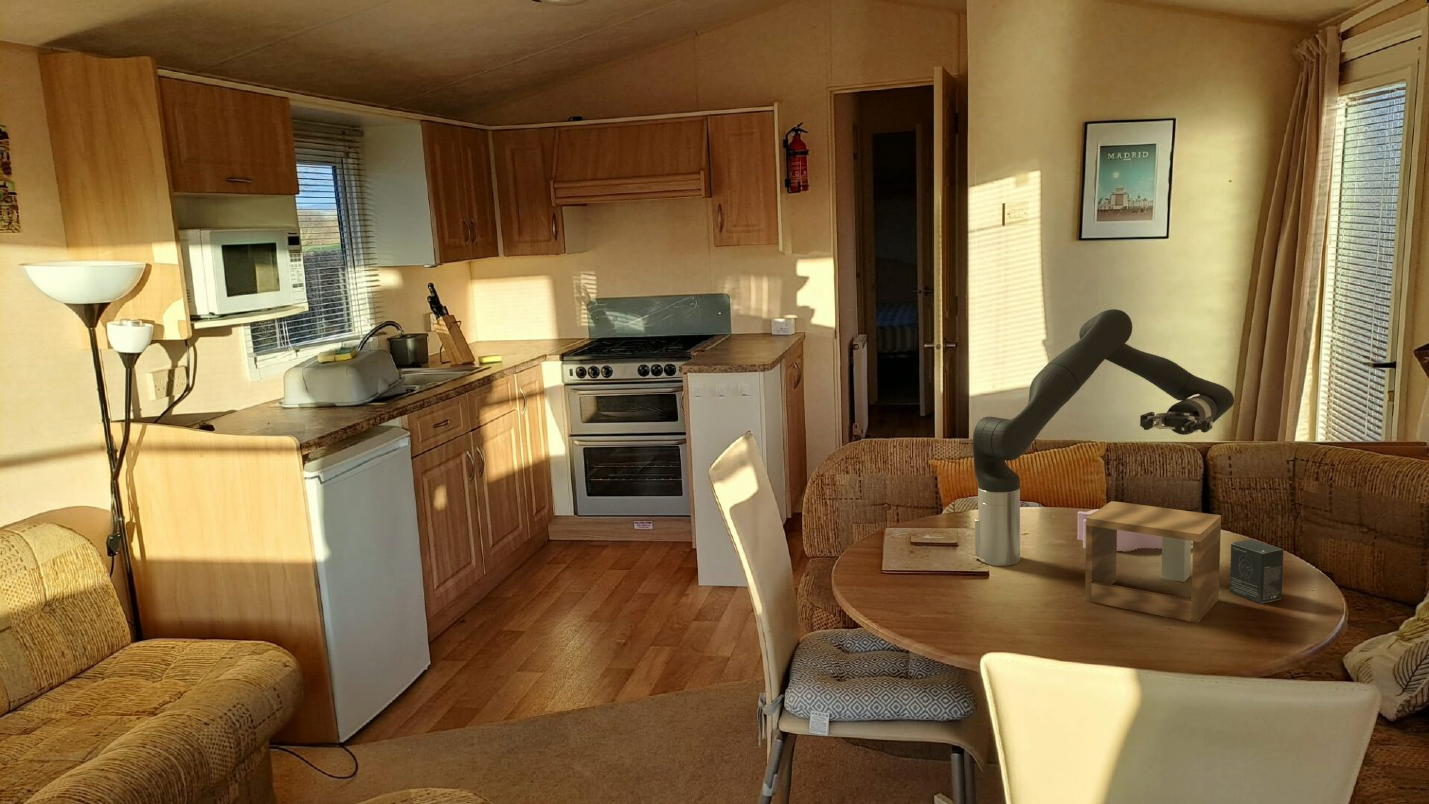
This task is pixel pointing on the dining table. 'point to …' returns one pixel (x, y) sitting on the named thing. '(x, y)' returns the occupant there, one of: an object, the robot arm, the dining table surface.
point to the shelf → (1157, 523)
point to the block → (1176, 559)
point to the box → (1256, 571)
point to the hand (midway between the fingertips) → (1165, 427)
